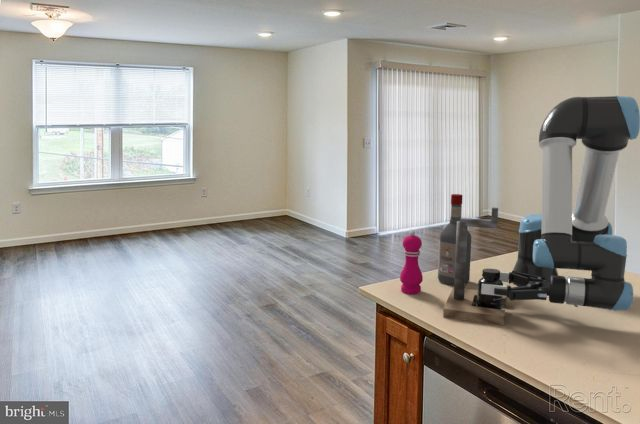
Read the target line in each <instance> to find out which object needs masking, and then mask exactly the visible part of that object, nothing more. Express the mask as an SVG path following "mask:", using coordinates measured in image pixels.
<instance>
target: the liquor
mask: <svg viewBox="0 0 640 424" xmlns="http://www.w3.org/2000/svg"><path fill="white" fill-rule="evenodd" d="M462 204H463V194H459V193H453V194H451V195H450V205H451V206H450V217H449V218H450V219H449V223H448V224H447V225H446V226H445V227H444V228H443V229H442V230H441V231H440V232H439V234H438V255H437V256H438V257H437V258H438V259H437V261H438V262H437V279H438V281H439V282H440V283H441V284H445V285H448V286H449V285H450V286H453V287H454V277H455V254H456V230H457V221H460V219H461V218H462ZM471 252H472V235H471V232H470V231H469V230H468V229H467V248H466V270H465V284H468V283H469V281H470V277H471V276H470V275H471V274H470V273H471Z"/></svg>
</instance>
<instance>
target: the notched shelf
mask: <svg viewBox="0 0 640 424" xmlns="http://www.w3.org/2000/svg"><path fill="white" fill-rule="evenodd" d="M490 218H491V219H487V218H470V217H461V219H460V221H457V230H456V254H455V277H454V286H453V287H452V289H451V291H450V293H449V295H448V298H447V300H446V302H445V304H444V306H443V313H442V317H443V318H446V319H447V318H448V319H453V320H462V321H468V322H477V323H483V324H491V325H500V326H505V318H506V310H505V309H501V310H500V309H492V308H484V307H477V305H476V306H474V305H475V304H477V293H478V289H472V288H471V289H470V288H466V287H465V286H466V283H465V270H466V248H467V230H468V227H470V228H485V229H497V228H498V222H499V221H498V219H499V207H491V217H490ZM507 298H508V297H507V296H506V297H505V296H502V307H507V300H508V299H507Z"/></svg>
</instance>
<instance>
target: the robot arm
mask: <svg viewBox="0 0 640 424" xmlns="http://www.w3.org/2000/svg"><path fill="white" fill-rule="evenodd" d="M639 134H640V108H639V105H638V102H637V100H636V99H635V98H634V97H632V96H619V95H615V96H572V97H570V98H567V99H565V100H563V101H561V102H559V103H557V104H556V105H555V106H554V107H552V109H551V110H550V112H549V113H548V114H547V115H546V117H545V118H544V119H543V122H542V124H541V127H540V130H539V134H538V147H539V148H540V149H541V150H542V164H541V165H542V166H541V167H542V169H541V170H542V176H541V177H542V178H541V180H542V181H541V213H536V214H529V215H526V216H523V217H522V218H521V220H520V221H519V222H520V223H519V229H518V233H519V237H518V247H517V249H518V250H517V260H516V262H515V264H514V267H513V269H512V271H511V272H506V271H504V272H503V271H500V278H499V279H500V280H501V281H502V283H504V282H505V283H508V284H514V285H515V286H511V285H503V286H500V285H491V284H482V288H481V294H487V295H496V296H505V297H506V296H507V298H508V300H509V301H531V300H533V301H534V300H535V301H536V300H537V301H539V300H540V301H546V300H547V299H548V302H550V303H552V304H561V305H562V304H564V303H566V304H567V305H571V306H574V307H575V308H578V307H579V306H580V307H590V308H598V309H603V310H604V309H605V310H609V311H629V310H630V309H631V307H632V305H633V302H634V289H633V285H632V283H630V282H628V281H625V273H626V263H627V256H628V253H627V252H628V250H627V248H628V242H627V240H626V239H625V238H624V237H622V236H620V235H614V234H613V226H612V224H611V222H610V221H609V218H608V217H607V216H606V215H605V214H606V211H607V206H608V202H609V198H610V197H609V196H610V193H611V188H612V184H613V181H614V180H613V179H614V175H615V173H616V167H617V162H618V159H619V155H620V152H621V151H623V150H625V149H626V148H627V147H628V144H629V140H630V141H632V140H635V139H637V138H638V136H639ZM577 140H581V144H582V145H583V146H584V148H585V151H584V157H583V161H582V167H581V173H580V177H579V183H578V188H577V192H576V198H575V204H574V209H573V148H574V147H575V146H577ZM558 269H559V270H560V269H564V270H574V271H575V270H578V271H588V272H590V271H591V275H590V278H587V277H586V278H585V277H578V276H571V275H570V276H567V277H565V276H564V275H559V272H558Z"/></svg>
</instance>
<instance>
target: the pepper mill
mask: <svg viewBox="0 0 640 424" xmlns="http://www.w3.org/2000/svg"><path fill="white" fill-rule="evenodd" d="M422 244H423V243H422V239H421V238H420V237H419V236H417V235H416V232H415V230H410V231H409V235H407V236H405V237H404V238H403V240H402V248H403V249H404V250H403V252H404V253H403V255H404V256H405V259H404V260H405V262H404V266H403V268H402V269H401V272H400V275H399V280H400V282H401V283H402V284H401V286H400V287H401V288H400V291H401V292H402V293H404V294H407V295H417V294H420V293H421V291H422V286H421V284H422V282H423V280H424V279H423V277H424V276H423V273H422V270H421V268H420V265H419V257H420V255H421V251H420V249H421V248H422Z"/></svg>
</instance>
